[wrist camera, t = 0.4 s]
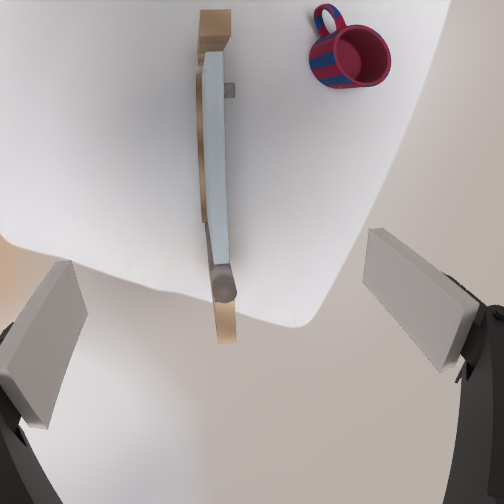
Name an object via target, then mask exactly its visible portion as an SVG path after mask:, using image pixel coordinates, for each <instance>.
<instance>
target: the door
mask: <svg viewBox="0 0 504 504" xmlns="http://www.w3.org/2000/svg"><path fill="white" fill-rule="evenodd" d="M234 97H235V84H234V83H224V66H223V51H216V52H206V53H205V58H204V64H203V69H202V110H203V142H204V166H205V187H206V206H207V218H208V226H209V233H210V240H211V247H212V254H213V261H214V264H226V263H229V248H228V223H227V196H226V165H225V126H224V98H234Z"/></svg>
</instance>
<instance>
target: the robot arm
mask: <svg viewBox="0 0 504 504" xmlns="http://www.w3.org/2000/svg"><path fill="white" fill-rule="evenodd" d="M362 282H363V283H364V285H365V286H366V287H367V288H368V289H369V290H370V291H371V292H372V294H373V295H374V296H375V297H376V298H377V299H378V300H379V302H380V303H381V304H382V305H383V306H384V307H385V308H386V310H387V311H388V312H389V313H390V314H391V315H392V316H393V318H394V319H395V320H396V321H397V322H398V323H399V325H400V326H401V327H402V328H403V329H404V331H405V332H406V333H407V334H408V335H409V337H410V338H411V339H412V340H413V341H414V342H415V344H416V345H417V346H418V347H419V348H420V350H421V351H422V352H423V353H424V355H425V356H426V357H427V358H428V360H429V361H430V362H431V363H432V365H433V366H434V367H435V368H436V370H437V371H438V372H439V373H441V372H444V371H446V370H449V369H451V368H454V367H455V365H456V363H457V361H458V358H459V356H460V354H461V355H462V356H463V357H464V359H465V362H464V364H463V366H462V368H461V370H460V372H459V374H458V376H457V378H456V381H455V383H458V381H459V379H460V378H462V381H461V396H460V408H459V417H458V427H457V434H456V441H455V447H454V453H453V459H452V464H451V470H450V475H449V479H448V484H447V489H446V493H445V497H444V501H443V504H504V307H503V306H500V305H491V306H488V307H487V306H486V305H485V304H484V303H482V302H481V301H480V300H479V299H478V298H477V297H475V296H474V295H473V294H472V293H471V292H469V291H468V290H466V288H465V287H463V286H462V285H460V284H459V283H458V282H457V281H456V280H455V279H453V278H452V277H451V276H449V275H446V274H444V273H442V272H441V271H439V270H438V269H437V268H436V267H434V266H433V265H432V264H430V263H429V262H428V261H427V260H425V259H424V258H423V257H421V256H420V255H419V254H417V253H416V252H415V251H413V250H412V249H411V248H409V247H408V246H407V245H405V244H404V243H403V242H401V241H400V240H399V239H397V238H396V237H395V236H393V235H392V234H390V233H389V232H388V231H386V230H385V229H383V228H377V229H369V232H368V241H367V251H366V259H365V266H364V274H363V281H362ZM87 315H88V313H87V310H86V307H85V304H84V301H83V298H82V295H81V291H80V288H79V285H78V282H77V278H76V275H75V271H74V268H73V264H72V261H71V260H69V261H60V262H56V263H55V265H54V266H53V267H52V269H51V270H50V271H49V273H48V274H47V276H46V277H45V278H44V280H43V281H42V282H41V284H40V285H39V287H38V288H37V290H36V291H35V292H34V294H33V296H32V297H31V298H30V299H29V301H28V302H27V304H26V305H25V307H24V308H23V310H22V312H21V313H20V314H19V316H18V318H17V319H16V321H15V322H12V323H11V324H10V325H9V326H8V327H7V328H6V329H5V330H3V332H2V334H1V335H0V504H63V503H62V501H61V500H60V498H59V497H58V495H57V493H56V492H55V490H54V488H53V487H52V485H51V483H50V482H49V480H48V479H47V476H46V475H45V473H44V471H43V469H42V467H41V466H40V464H39V462H38V460H37V458H36V456H35V454H34V452H33V450H32V448H31V446H30V444H29V442H28V440H27V438H26V436H25V434H24V431H23V430H22V429H21V427H20V426H19V425H18V424H19V421H20V418H21V416H22V418H23V419H24V420H25V422H26V423H27V424H28V426H29V427H32V428H40V429H48V427H49V423H50V420H51V416H52V413H53V410H54V406H55V403H56V400H57V397H58V393H59V390H60V387H61V384H62V381H63V378H64V375H65V373H66V370H67V367H68V364H69V361H70V358H71V356H72V353H73V350H74V348H75V345H76V342H77V340H78V337H79V335H80V332H81V330H82V327H83V324H84V322H85V320H86V317H87Z"/></svg>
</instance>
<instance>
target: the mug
mask: <svg viewBox="0 0 504 504" xmlns="http://www.w3.org/2000/svg"><path fill="white" fill-rule="evenodd" d="M323 9H325V10H327V11H328V12H329V13H330V14H331V16H332V17H333V19H334V21H335V24H336V28H337V30H336V31H335V32H333V33H331V34H329V32H328V30H327V29H326V27H325V24H324V22H323V18H322V11H323ZM314 20H315V23H316V26H317V29H318V31H319V34H320V36H321V39H320V40H318V41H317V42H316V43H315V44H314V45H313V46H312V49H311V51H310V55H309V62H310V67H311V70H312V72H313V74H314V75H315V76H316V78H317V79H318V80H319V81H320V82H322V83H323V84H324V85H326V86H328V87H331V88H335V89H344V88H357V87H370V86H375V85H378V84H379V83H381V82H382V81H383V80H384V79H385V78H386V77H387V75H388V73H389V71H390V67H391V55H390V51H389V48H388V46H387V44H386V43H385V41H384V39H383V38H382V37H381V36H380V35H379V34H378V33H377V32H375V31H374V30H372V29H371V28H369V27H366V26H363V25H350V26H346V24H345V22H344V19H343V17H342V15H341V14H340V12H339V11H338V9H336V8H335V7H334V6H333V5H331V4H323V5H320V6H318V7H317V8H316V9H315V11H314Z"/></svg>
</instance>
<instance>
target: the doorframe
mask: <svg viewBox="0 0 504 504" xmlns="http://www.w3.org/2000/svg"><path fill="white" fill-rule="evenodd" d="M230 36H231V10H200V21H199V36H198V65H203V64H204V58H205V53H206V52H216V51H223V50H224V48H225V46H226V44H227V42H228V40H229V38H230ZM196 97H197V131H198V156H199V176H200V194H201V211H202V223H205V230H206V239H207V249H208V262H209V274H210V282H211V290H212V299H213V307H214V314H215V322H216V329H217V337H218V344H222V343H232V342H236V321H235V300H234V299H235V297H236V295H237V290H236V286H235V282H234V278H233V274H232V270H231V266H230V262H229V263H226V264H214V261H213V254H212V247H211V240H210V233H209V226H208V218H207V206H206V187H205V166H204V142H203V110H202V74H196Z"/></svg>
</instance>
